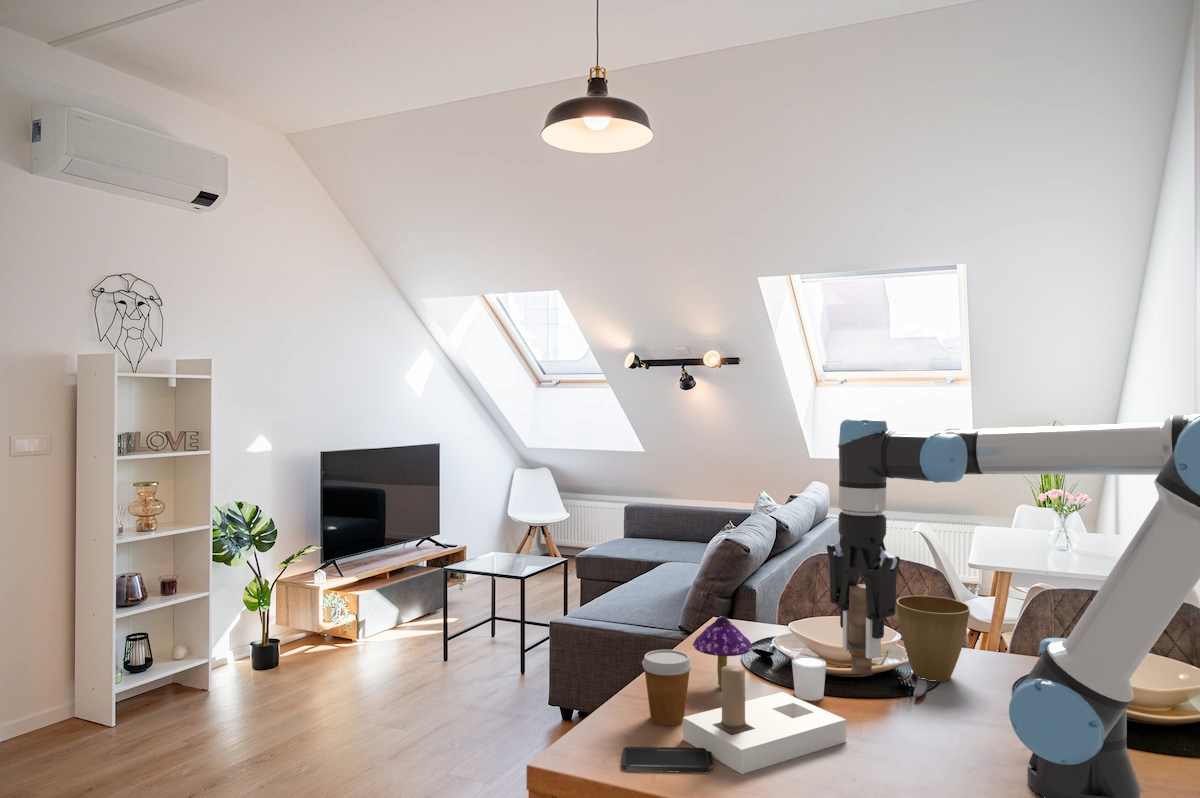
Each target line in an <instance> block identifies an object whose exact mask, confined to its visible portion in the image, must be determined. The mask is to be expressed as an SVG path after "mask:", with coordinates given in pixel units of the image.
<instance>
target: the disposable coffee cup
mask: <svg viewBox="0 0 1200 798" xmlns="http://www.w3.org/2000/svg"><path fill="white" fill-rule="evenodd" d="M641 665H642V668H643V670H644V674H645V675H644V676H645V683H646V684H645V685H646V690H647V691H646V692H647V699H648V708H649V713H650V721H651V722H652V723H654V724H656V725H659V726H665V725H666V727H667V726H676V725H679V724H683V717H685V713H686V711H685V710H686V704H687V696H688V695H687V694H688V687H689V678H690V670H691V669H692V666H693V662H692V661H691V657H690V655H689V654H688V653H686V652H683V651H681V650H676V649H656V650H651V651H649V652H647V653H645V654H644V657H643V660H642V661H641Z"/></svg>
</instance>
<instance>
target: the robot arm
mask: <svg viewBox="0 0 1200 798" xmlns="http://www.w3.org/2000/svg"><path fill="white" fill-rule="evenodd" d="M838 439H839V440H838V444H837V448H838V469H839V470H838V473H839V475H838V478H839V481H838V508H839V510H841V511H840V512H839V514H838V533H839V534H840V535H841V538H840V540H839V543H835V544H828V545H827V546H826V551H827V555H828V559H829V588H830V589H829V596H830V598H829V600H830V603H832V604H835V605H837V607H838V608H839V610H840V612H839V613H840V614H839V615H840V616H839V617H840V618H839V621H840V622H839V624H840V628H842V650H843V651H849V644H848V640H849V586H850V585H853V584H859V577H860V573H861V575H862V577H863V578H864V584H865V586H866V592H867V599H868V605H869V611H870V615H869V616H867V618H866V658H868V659H871V658H872V659H875V658H877V657H881V654H882V651H881V650H882V647H881V645H882V643H881V642H882V641H881V640H882V639H883V638H884V637H885V636H884V635H885V618H888V617H889V618H890V617H893V616H895V615H896V606H897V602H896V601H897V572H898V571H897V570H898V569H899V565H900V562H901V557H899V555H892V554H890V553H889V552H887V548H886V546H885V542H884V539H885V537H886V536H887V515H886V514H885V513H883V512H885V511H886V510H887V480H888V479H887V478H889V479H902V480H916V481H926V482H933V483H936V484H937V483H938V484H939V483H957V482H960V481H961V480H962V479H963V477H964V475H1095V476H1096V475H1103V476H1104V475H1108V476H1109V475H1110V476H1111V475H1113V476H1114V475H1115V476H1117V475H1121V476H1122V475H1126V476H1127V475H1128V476H1129V475H1134V476H1135V475H1138V476H1140V475H1141V476H1143V475H1146V476H1147V475H1148V476H1149V475H1150V476H1152V475H1154V476H1155V475H1156V478H1155V479H1154V481H1153V482H1154V485H1155V487H1156V490H1157V494H1158V499H1157V501H1156V502H1155V504H1154V506H1153V507H1152V509H1151V510H1150V511H1149V513H1148V514H1147V516H1146V518H1145V519H1144V521H1143V522H1142V523H1141V526H1140V527H1139V528H1138V530H1137V531H1136V533H1135V535H1134V536H1133V538H1132V539H1131V541H1130V542H1129V544H1128V545H1127V547H1126V548H1125V550H1124V551H1123V553H1122V554H1121V556H1120V557H1119V559H1118V560H1117V562H1116V564H1115V565H1114V567H1113V568H1112V569H1111V571H1110V573H1109V574H1108V576H1107V577H1106V579H1105V580H1104V582H1103V583H1102V585H1101V586H1100V588H1099V590H1098V591H1097V592H1096V594H1095V596H1094V597H1093V599H1092V601H1091V602H1090V603H1089V605H1088V606H1087V608H1086V609H1085V611H1084V612H1083V614H1082V616H1081V617H1080V619H1079V620H1078V622H1077V623H1076V624H1075V626H1074V628H1073V629H1072V631H1071V632H1070V634H1069V635H1068V637H1067V638H1065V637H1048V638H1044V639H1041V641H1040V644H1039V650H1038V651H1037V655H1038V656H1039V657H1038V658H1039V659H1038V660H1037V661H1036V663H1035V665H1034V666H1033V668H1032V669H1031V671H1030V672H1029V674H1028V675H1027V676H1026V678H1025V679H1024V681H1023V682H1022V683H1020V684H1019V685H1017V686H1016V687H1015V689H1014V690H1013V692H1012V694H1011V697H1010V698H1011V699H1010V701H1009V706H1008V717H1009V720H1010V723H1011V727H1012V728H1013V730H1014V731H1013V732H1014V733H1015V735H1016V736H1017V738H1018V739H1019V740H1020V742H1021V743H1022V744H1023V745H1024V746H1025V747H1026V748H1027V749H1028V750H1030V752H1032V753H1031V756H1030V759H1029V761H1028V764H1027V784H1028V787H1030V789H1033V790H1032V791H1033V792H1034V793H1036V794H1037V793H1038V794H1037V795H1039V794H1040V795H1041V796H1040V795H1039V796H1040V797H1042V796H1043V797H1045V798H1141V793H1142V792H1141V785H1140V784H1139V781H1138V777H1137V775H1136V772H1135V768H1134V766H1133V763H1132V761H1131V757H1130V756H1129V753H1128V748H1127V747H1128V746H1127V732H1128V731H1127V730H1128V729H1127V728H1128V727H1127V725H1128V724H1127V723H1128V722H1127V721H1128V720H1127V718H1128V717H1127V707H1129V705H1130V703H1131V702H1132V701H1133V700H1134V697H1135V693H1134V690H1133V687H1132V683H1131V682H1130V681H1131V679H1132V677H1133V675H1134V674H1135V673H1136V671H1137V669H1138V668H1139V667H1140V665H1141V664H1142V663H1143V662H1144V660H1145V659H1146V657H1147V655H1148V654H1149V652H1150V651H1151V649H1152V648H1153V646H1154V645H1155V644H1156V642H1157V641H1158V639H1160V637H1161V635H1162V634H1163V632H1164V631H1165V629H1166V628H1167V627H1168V625H1169V624H1170V622H1171V621H1172V619H1173V618H1174V616H1175V615H1176V614H1177V612H1178V611H1179V609H1180V608H1181V606H1182V605H1183V604H1184V602H1185V601H1186V599H1187V598H1188V596H1189V595H1190V594H1191V592H1192V590H1193V589H1194V588H1195V587H1196V585H1197V583H1198V582H1199V581H1200V413H1190V414H1179V415H1178V414H1177V415H1176V414H1175V415H1174V414H1173V415H1170V416H1169V417H1168V418H1166V419H1165V420H1164V421H1162V422H1146V423H1145V422H1144V423H1143V422H1142V423H1141V422H1140V423H1116V424H1115V423H1112V424H1084V425H1056V426H1055V425H1054V426H1053V425H1052V426H1028V427H1027V426H1026V427H1024V426H1023V427H1022V426H1021V427H998V428H996V427H995V428H979V429H977V428H970V429H969V428H968V429H963V428H952V429H951V428H949V429H945V430H938V431H927V432H902V431H901V432H896V431H891V430H889V428H888V424H887V421H886V420H885V419H882V418H878V419H877V418H846V419H844V420H842V421H841V423H840V426H839V437H838ZM1043 797H1042V798H1043Z"/></svg>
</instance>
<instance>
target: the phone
mask: <svg viewBox="0 0 1200 798" xmlns="http://www.w3.org/2000/svg"><path fill="white" fill-rule="evenodd" d="M622 752H623V753H622V759H621V760H622V761H621V762H622V763H621V766H622V767H621V768H622V770H623V771H625V770H626V771H627V772H647V771H655V772H654V773H656V771H663V772H662V773H668V772H667V771H679V772H678V773H692V772H701V774H703V773H702V772H710V773H712V772H713V771H714V762H713V757H712V755H711V752H710V751H707V750H706V749H705V748H696V747H678V746H677V747H672V746H670V747H668V746H667V747H666V746H625V747H624V748H623V750H622ZM626 771H625V772H626ZM711 771H712V772H711Z"/></svg>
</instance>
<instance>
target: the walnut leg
mask: <svg viewBox="0 0 1200 798" xmlns="http://www.w3.org/2000/svg"><path fill="white" fill-rule="evenodd" d="M869 615H870V611H869V605H868V599H867V592H866V586H865V583H858V584H853V585H850V586H849V640H848V644H849V650H848V653H849V654H850V655H851V660H850V661H851V663H850V664H851V667H850V668H851V669H850V670H851V672H852V673H854V674H858V675H870V674H872V669H873V668H872V666H873V665H872V664H873V663H872V661H873V658H871V659H868V658H866V618H867V616H869Z"/></svg>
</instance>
